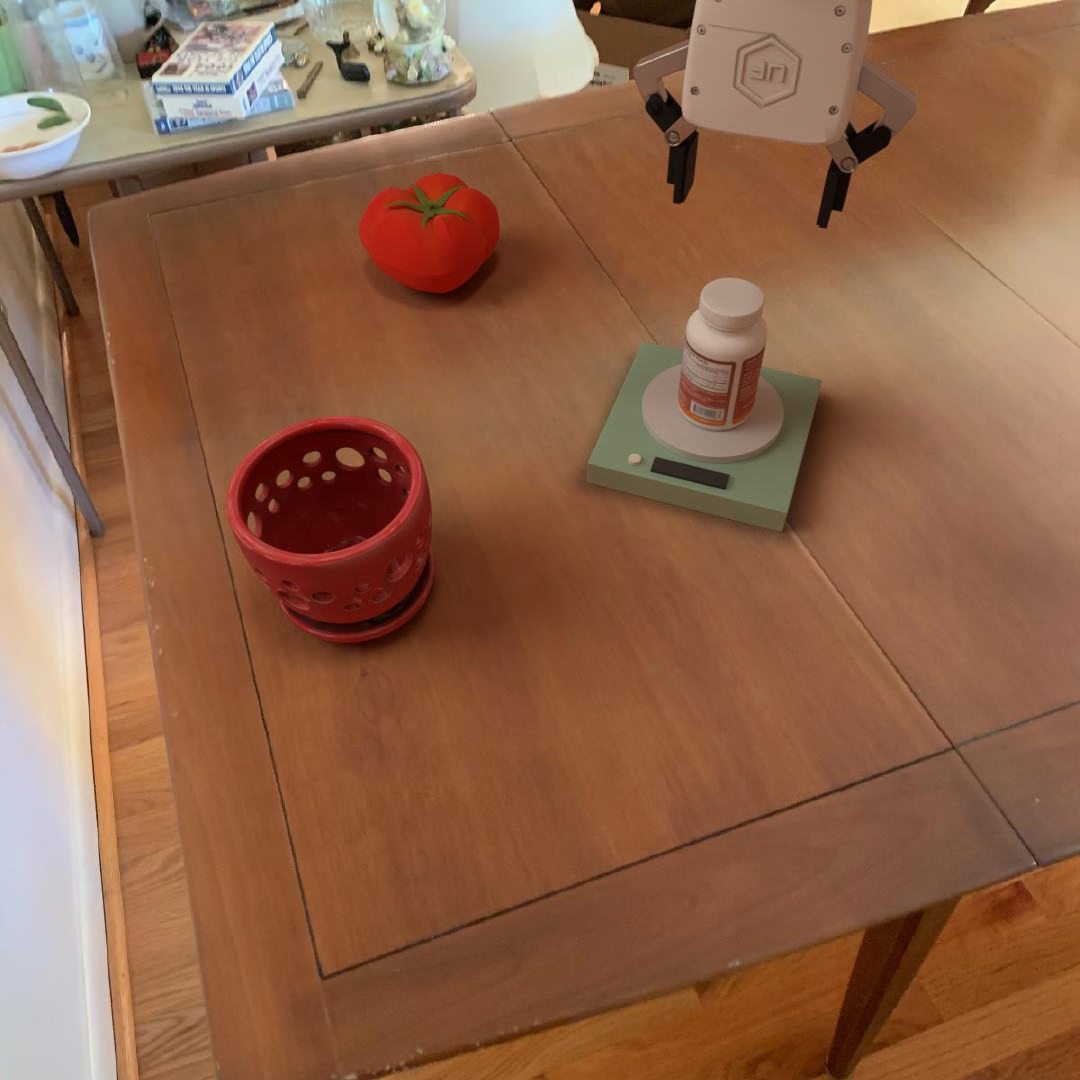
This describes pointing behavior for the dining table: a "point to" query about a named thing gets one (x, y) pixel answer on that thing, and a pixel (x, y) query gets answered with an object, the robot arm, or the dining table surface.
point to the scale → (705, 444)
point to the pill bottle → (723, 355)
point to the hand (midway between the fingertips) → (752, 205)
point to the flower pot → (337, 527)
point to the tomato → (430, 232)
